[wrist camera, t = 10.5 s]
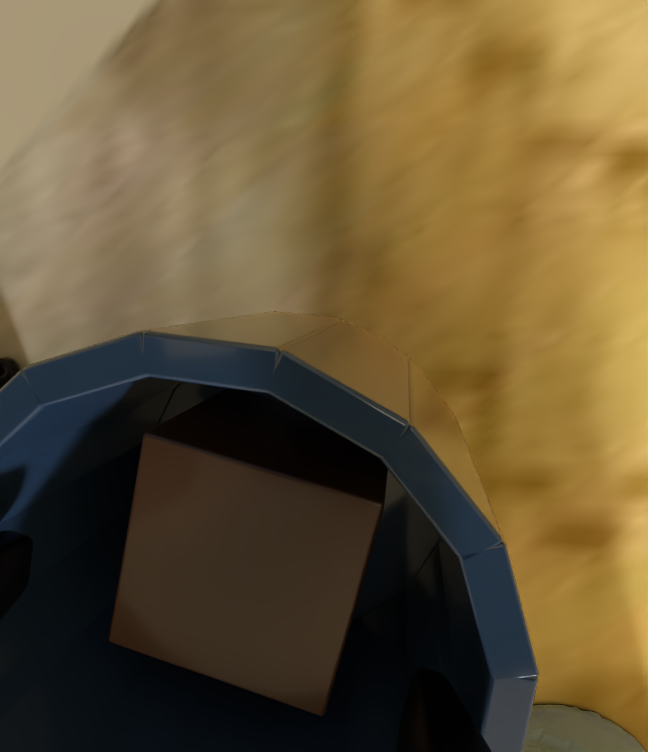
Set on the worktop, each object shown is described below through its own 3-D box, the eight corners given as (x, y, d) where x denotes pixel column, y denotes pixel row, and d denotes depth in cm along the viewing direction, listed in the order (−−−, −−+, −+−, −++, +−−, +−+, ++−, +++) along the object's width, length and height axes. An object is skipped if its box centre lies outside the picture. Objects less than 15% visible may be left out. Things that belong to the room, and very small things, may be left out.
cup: (198, 649, 15) (30, 938, 8) (99, 363, 14) (-185, 430, 7) (502, 601, 13) (604, 922, 7) (415, 269, 12) (428, 240, 6)
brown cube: (198, 534, 14) (105, 643, 10) (228, 385, 13) (142, 432, 9) (349, 582, 13) (324, 719, 9) (392, 431, 12) (385, 503, 8)
